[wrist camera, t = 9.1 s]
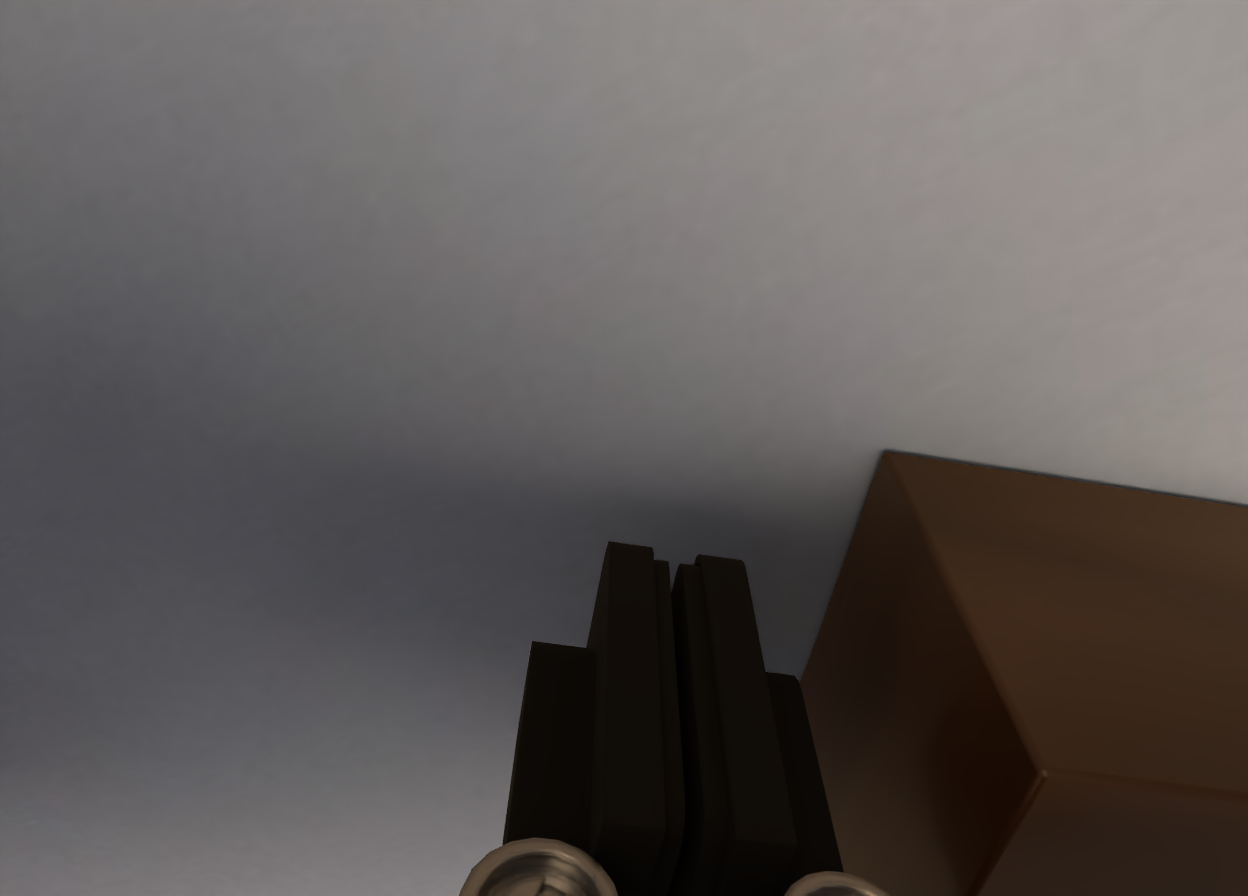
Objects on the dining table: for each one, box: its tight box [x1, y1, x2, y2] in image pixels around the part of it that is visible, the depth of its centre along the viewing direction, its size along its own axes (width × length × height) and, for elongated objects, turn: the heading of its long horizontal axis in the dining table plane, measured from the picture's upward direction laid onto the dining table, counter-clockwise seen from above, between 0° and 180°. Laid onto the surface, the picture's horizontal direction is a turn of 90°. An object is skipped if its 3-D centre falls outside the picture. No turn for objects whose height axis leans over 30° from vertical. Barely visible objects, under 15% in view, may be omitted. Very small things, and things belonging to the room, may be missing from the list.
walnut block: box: [800, 452, 1248, 896], centre depth 11 cm, size 5×5×5 cm
